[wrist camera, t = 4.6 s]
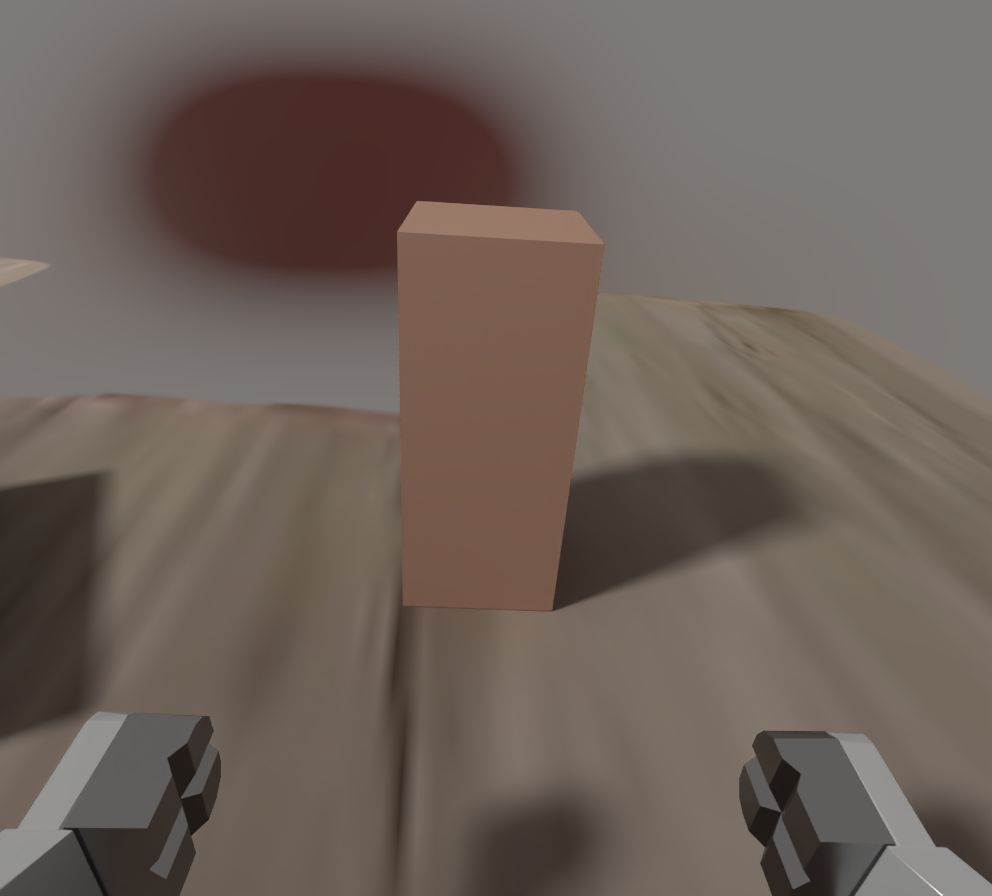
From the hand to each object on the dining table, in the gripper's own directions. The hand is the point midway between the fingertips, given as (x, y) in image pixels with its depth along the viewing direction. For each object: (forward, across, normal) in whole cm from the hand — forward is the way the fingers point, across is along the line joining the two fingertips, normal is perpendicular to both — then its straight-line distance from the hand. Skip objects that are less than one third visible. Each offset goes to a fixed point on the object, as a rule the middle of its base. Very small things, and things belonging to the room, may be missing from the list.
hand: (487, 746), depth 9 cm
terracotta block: (+12, 0, -6) cm, 14 cm away
